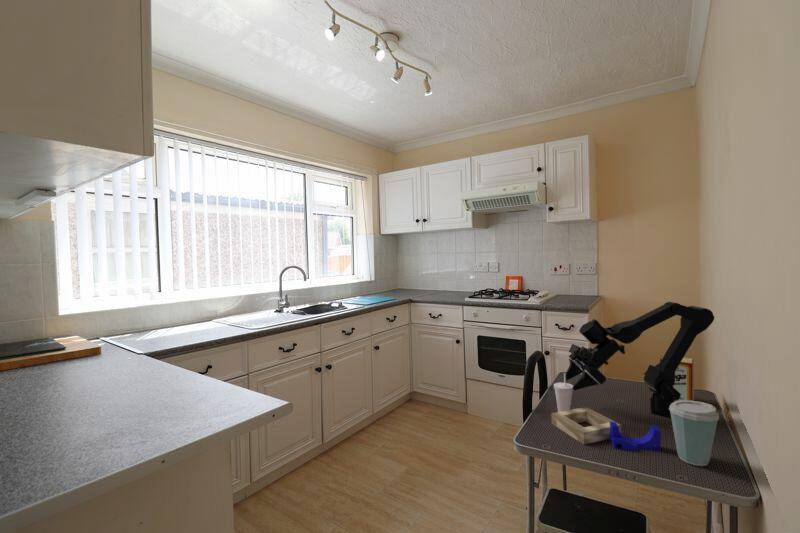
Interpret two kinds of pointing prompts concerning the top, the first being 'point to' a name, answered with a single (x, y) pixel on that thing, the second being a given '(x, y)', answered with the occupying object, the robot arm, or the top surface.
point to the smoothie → (563, 395)
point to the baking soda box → (684, 379)
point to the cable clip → (646, 442)
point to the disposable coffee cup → (694, 430)
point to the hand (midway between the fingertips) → (568, 384)
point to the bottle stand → (583, 434)
